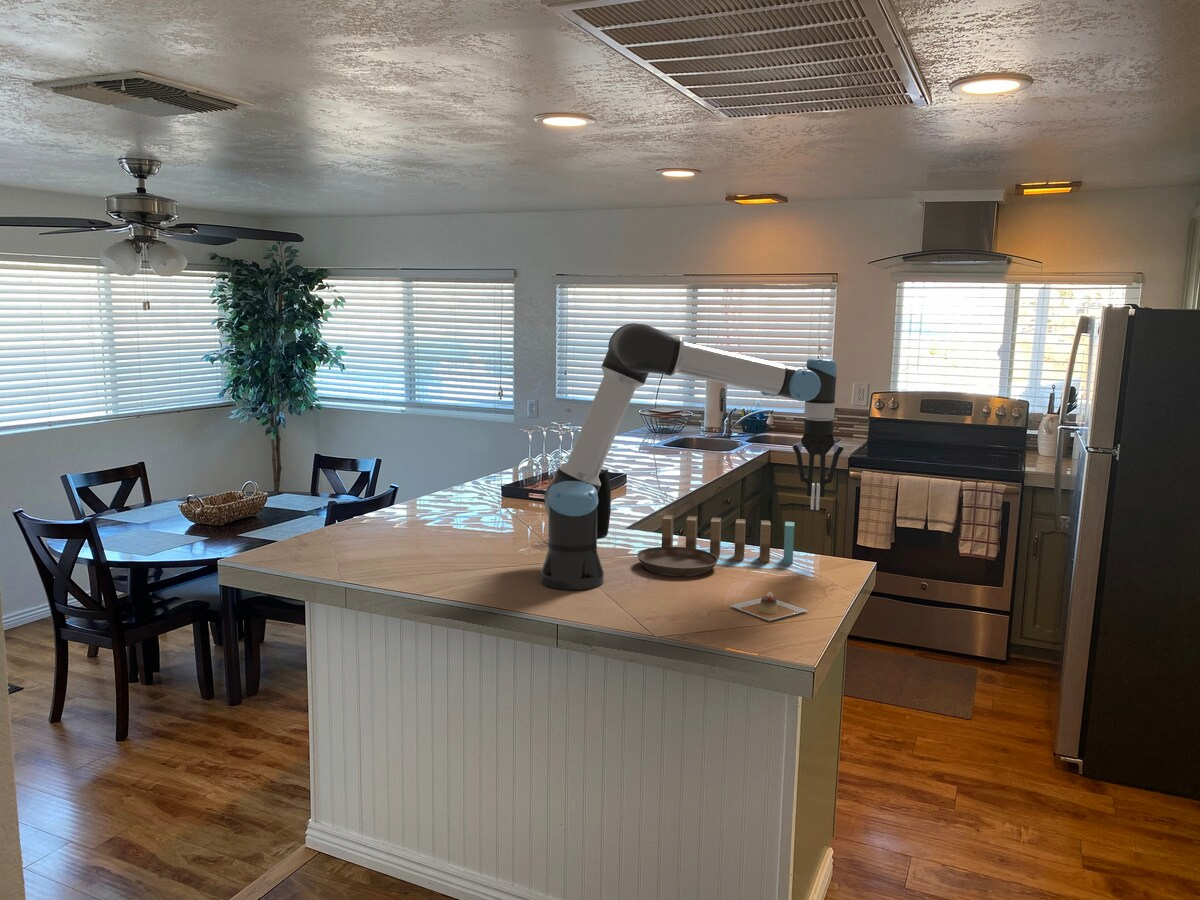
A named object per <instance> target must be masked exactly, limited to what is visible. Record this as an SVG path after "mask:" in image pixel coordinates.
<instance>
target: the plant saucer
mask: <svg viewBox="0 0 1200 900" xmlns="http://www.w3.org/2000/svg"><path fill="white" fill-rule="evenodd" d="M636 557H637V559H638V560H639V562H640V563H641V565H642V566H643V567H644V568H645V569H647V570H648V571H650V572H652V573H654V574H658V575H663V576H668V577H669V576H670V577H693V576H694V577H696V576H700V575H704V574H707V573H708V572H709V571H711V570H713V568H714V567H716V565H717V563H718V562H719V559H718V558H717V557H716V556H715V555H714V554H712V553H710V551H705V550H702V549H697V548H696V549H693V548H686V546H684V547H683V546H682V547H681V546H673V547H662V546H657V547H649V548H645V549H643V550H640V551H639V552H637V555H636Z"/></svg>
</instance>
